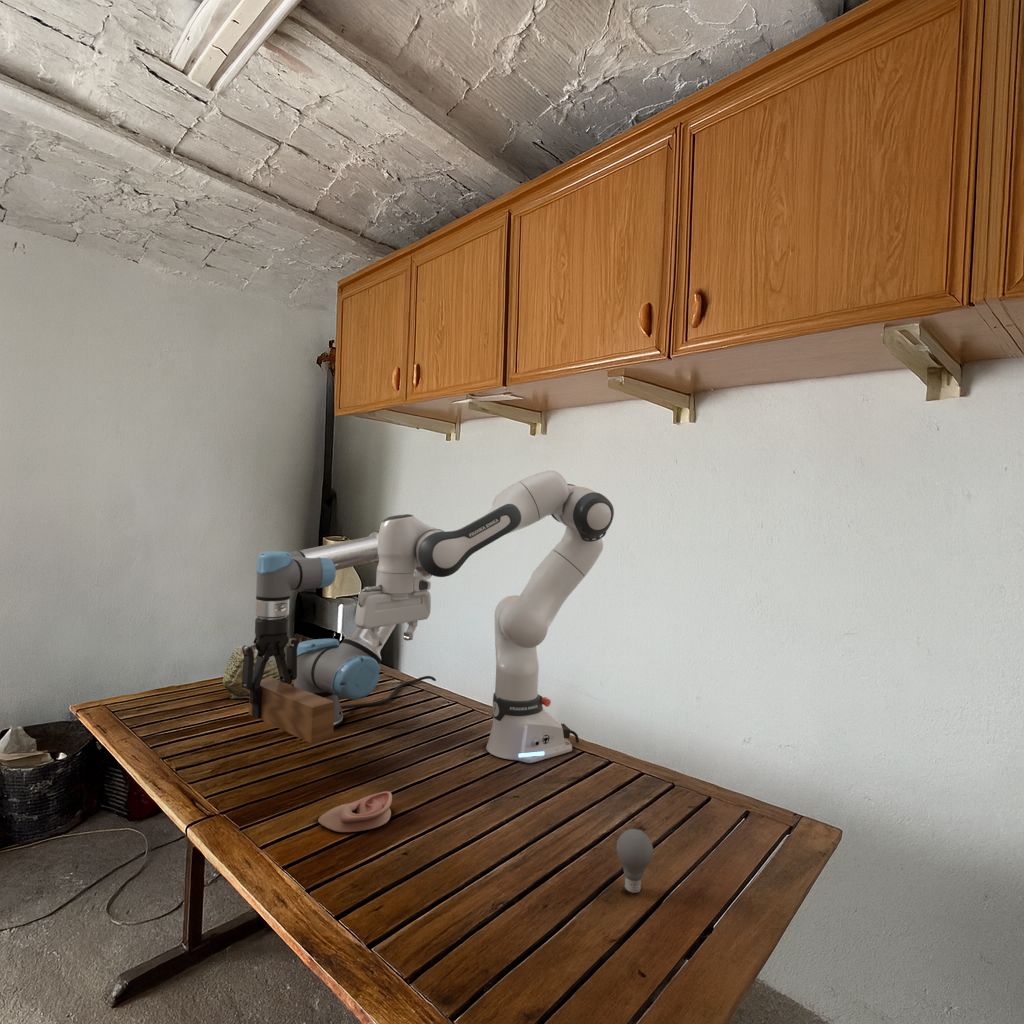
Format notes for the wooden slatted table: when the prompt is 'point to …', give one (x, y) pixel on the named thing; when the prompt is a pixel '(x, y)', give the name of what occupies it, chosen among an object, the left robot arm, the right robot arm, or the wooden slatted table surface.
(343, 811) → the anatomical model
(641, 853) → the light bulb
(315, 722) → the bar
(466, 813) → the wooden slatted table surface
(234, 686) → the fossil
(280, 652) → the left robot arm
